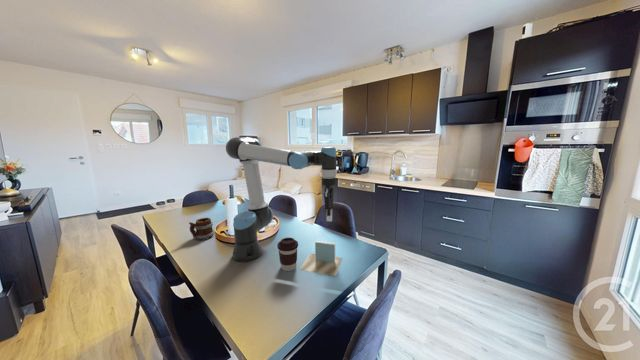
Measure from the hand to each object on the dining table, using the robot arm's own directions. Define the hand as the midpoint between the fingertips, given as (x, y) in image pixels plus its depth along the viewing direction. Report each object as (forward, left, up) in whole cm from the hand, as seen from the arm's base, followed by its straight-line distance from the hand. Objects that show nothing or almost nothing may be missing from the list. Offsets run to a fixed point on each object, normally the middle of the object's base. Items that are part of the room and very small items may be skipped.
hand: (329, 220), depth 116 cm
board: (-1, -11, -20) cm, 23 cm away
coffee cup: (-16, -18, -20) cm, 31 cm away
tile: (0, -8, -19) cm, 20 cm away
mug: (-86, -1, -20) cm, 88 cm away
